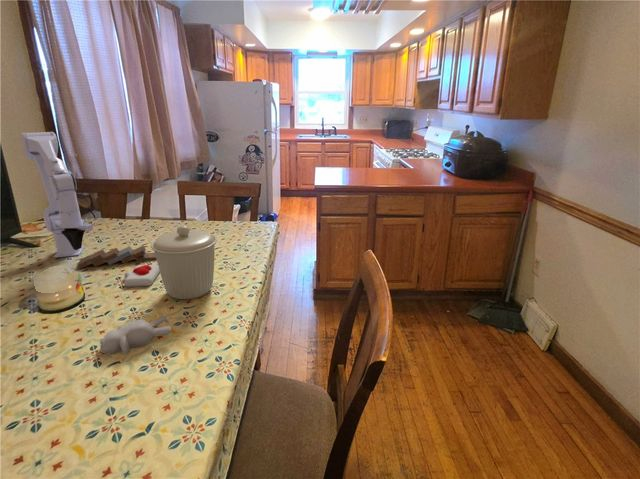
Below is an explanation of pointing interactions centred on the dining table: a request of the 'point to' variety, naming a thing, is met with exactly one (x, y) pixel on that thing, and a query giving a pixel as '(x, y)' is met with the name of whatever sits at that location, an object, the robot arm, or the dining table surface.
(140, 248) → the domino
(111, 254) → the domino
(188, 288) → the canister
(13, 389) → the dining table surface
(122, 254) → the loose domino
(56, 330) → the dining table surface
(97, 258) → the domino
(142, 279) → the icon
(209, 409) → the dining table surface
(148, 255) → the domino
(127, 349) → the bunny figurine
